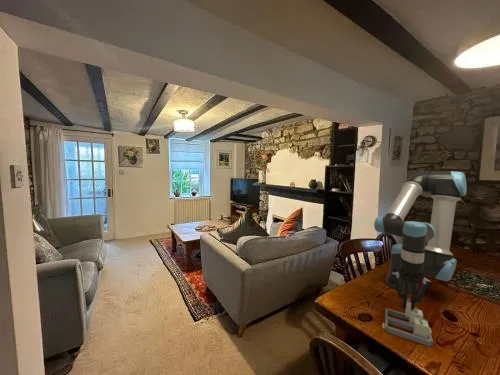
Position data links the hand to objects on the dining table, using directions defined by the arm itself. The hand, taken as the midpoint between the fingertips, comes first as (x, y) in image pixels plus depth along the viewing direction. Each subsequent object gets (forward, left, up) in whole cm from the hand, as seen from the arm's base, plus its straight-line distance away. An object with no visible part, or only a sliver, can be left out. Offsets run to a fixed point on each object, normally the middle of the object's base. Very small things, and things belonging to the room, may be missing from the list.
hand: (407, 315), depth 92 cm
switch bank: (+4, 0, -4) cm, 6 cm away
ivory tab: (0, +3, -3) cm, 4 cm away
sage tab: (+7, +4, -3) cm, 8 cm away
